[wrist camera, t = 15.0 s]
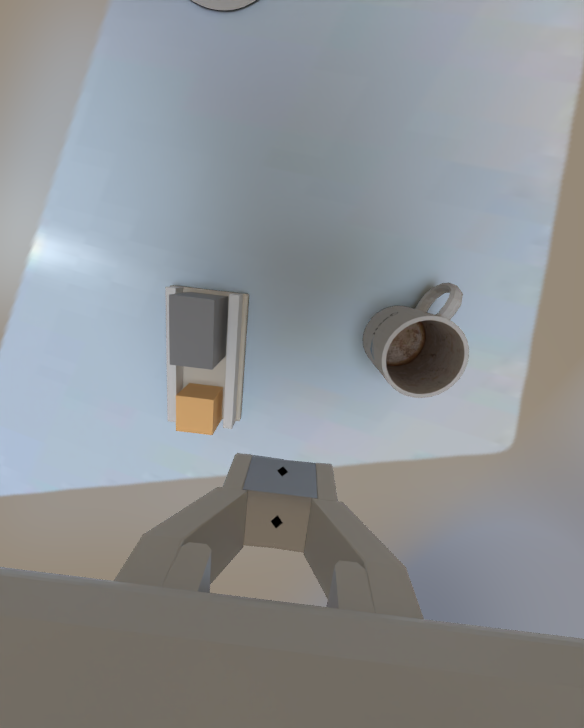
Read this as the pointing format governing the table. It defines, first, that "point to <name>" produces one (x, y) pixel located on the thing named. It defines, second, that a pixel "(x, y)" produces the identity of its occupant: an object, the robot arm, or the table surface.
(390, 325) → the mug
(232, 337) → the rail
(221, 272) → the table surface
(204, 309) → the block
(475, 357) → the table surface
